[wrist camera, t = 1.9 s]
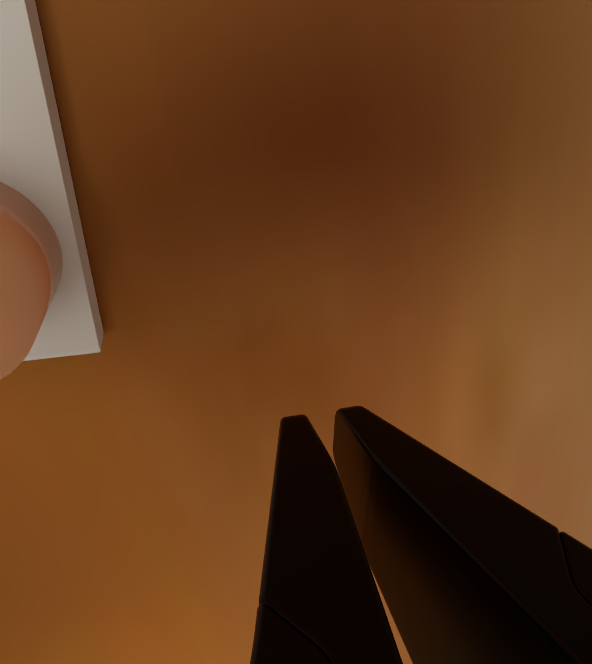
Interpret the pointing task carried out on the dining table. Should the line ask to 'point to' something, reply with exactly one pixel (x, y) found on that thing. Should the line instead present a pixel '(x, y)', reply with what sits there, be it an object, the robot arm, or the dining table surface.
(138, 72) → the dining table surface
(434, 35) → the dining table surface
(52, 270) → the pink short cylinder
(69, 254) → the deck
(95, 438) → the dining table surface
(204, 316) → the dining table surface
